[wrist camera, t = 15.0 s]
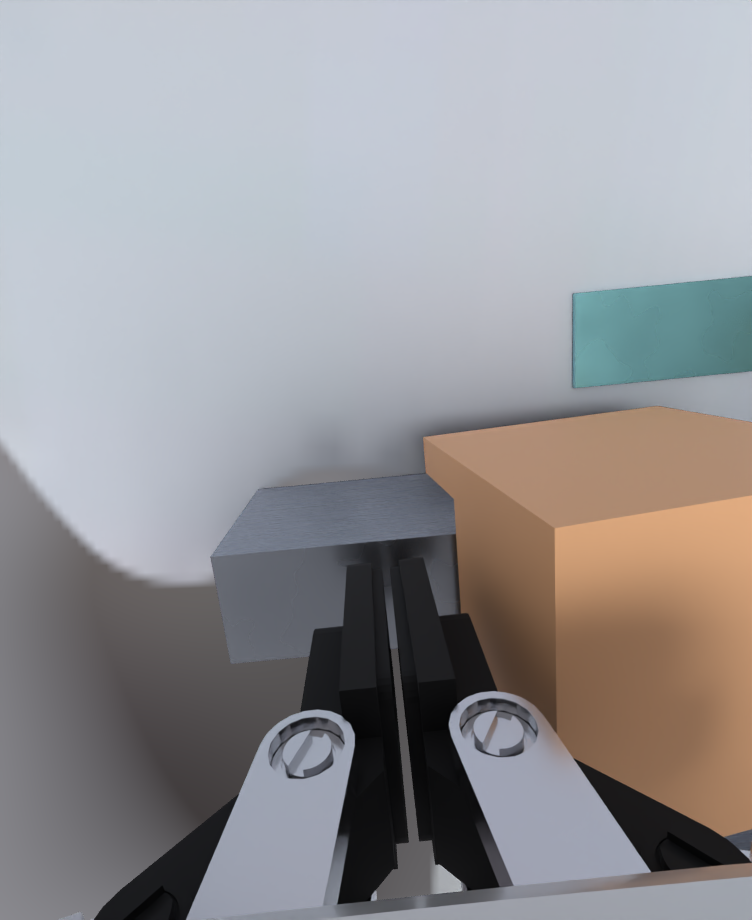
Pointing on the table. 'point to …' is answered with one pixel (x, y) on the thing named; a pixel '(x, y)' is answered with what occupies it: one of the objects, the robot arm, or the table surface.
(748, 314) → the rail
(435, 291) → the table surface
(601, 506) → the block
